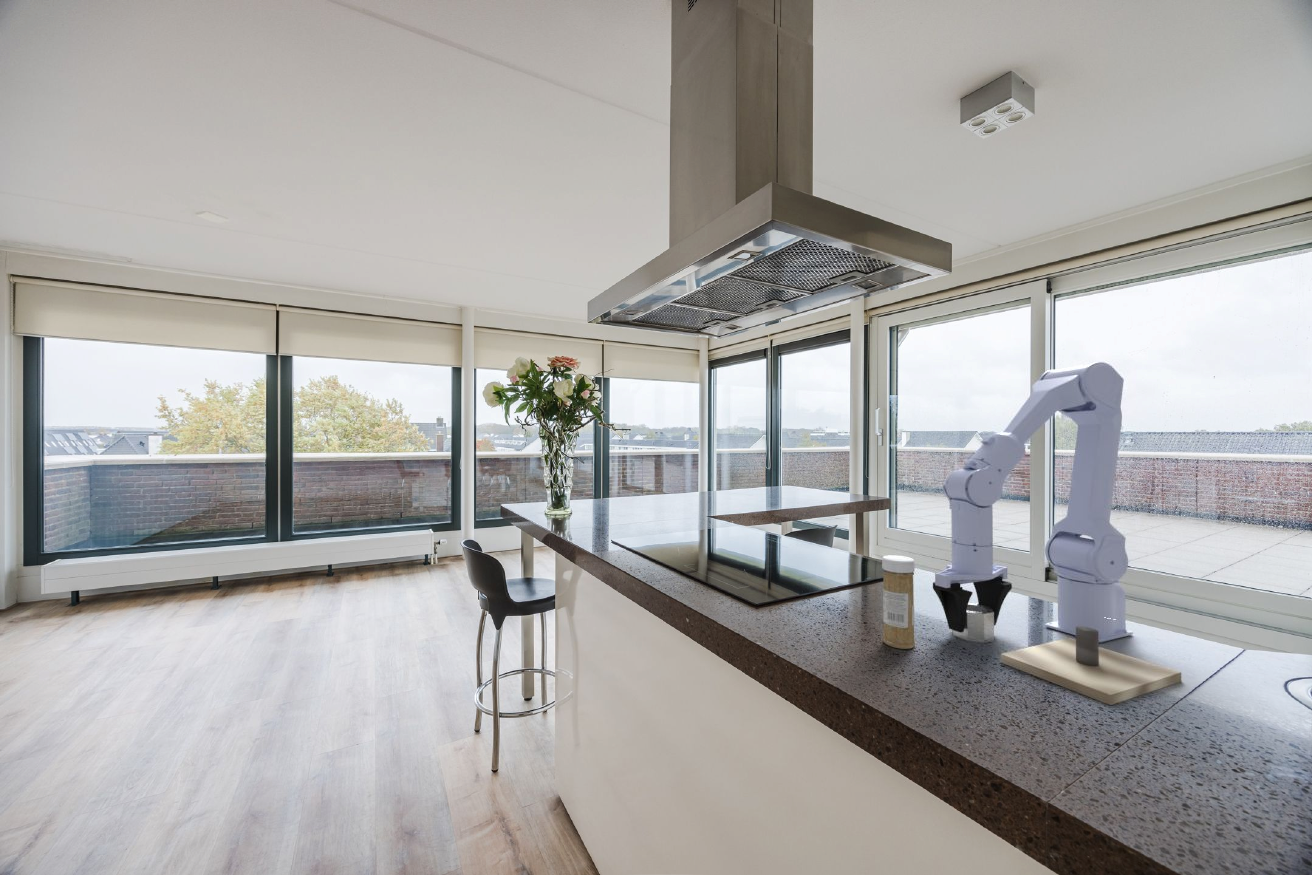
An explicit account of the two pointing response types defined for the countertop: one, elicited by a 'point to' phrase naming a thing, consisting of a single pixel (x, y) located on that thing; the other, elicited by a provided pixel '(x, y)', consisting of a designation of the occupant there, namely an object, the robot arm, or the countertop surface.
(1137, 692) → the post board
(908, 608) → the sprinkles bottle
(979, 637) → the steel ring
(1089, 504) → the robot arm
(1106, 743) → the countertop surface
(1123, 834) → the countertop surface
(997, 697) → the countertop surface
